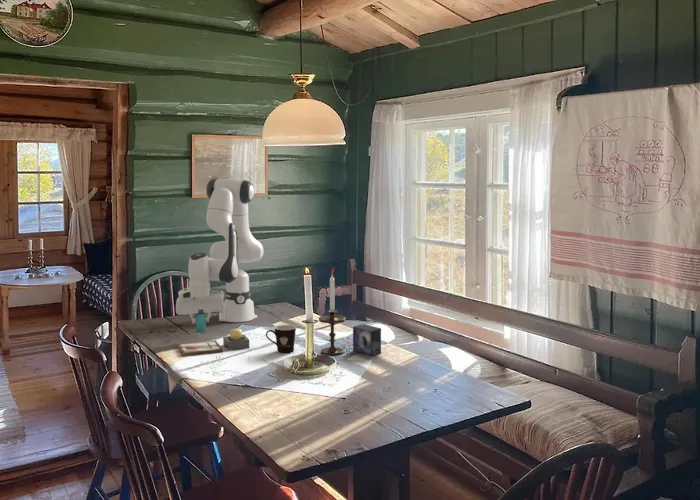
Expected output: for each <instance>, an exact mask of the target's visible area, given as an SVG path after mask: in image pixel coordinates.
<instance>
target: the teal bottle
mask: <svg viewBox="0 0 700 500" xmlns="http://www.w3.org/2000/svg"><path fill="white" fill-rule="evenodd" d="M205 318H206V313H204V311H203V309H202V310H198V313H197V314H195V319H196V324H195V332H196V333H206V331H207V330H206V329H207V327H206V323H205Z"/></svg>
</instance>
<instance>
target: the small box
mask: <svg viewBox="0 0 700 500" xmlns="http://www.w3.org/2000/svg"><path fill="white" fill-rule="evenodd" d="M352 351H353V352H356V353H359V354H363V355H366V356H368V357H372V356H376V355H380V354H382V328H380V327H377V326H374V325H373V326H372V325H368V324H366V323H362V324H357V325H354V326H352Z"/></svg>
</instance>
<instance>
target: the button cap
mask: <svg viewBox="0 0 700 500" xmlns="http://www.w3.org/2000/svg"><path fill="white" fill-rule="evenodd" d="M242 335H243V329H242V328H231V329H230V330H229V336H230V340H231V341H232V340H242Z"/></svg>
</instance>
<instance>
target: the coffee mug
mask: <svg viewBox="0 0 700 500" xmlns="http://www.w3.org/2000/svg"><path fill="white" fill-rule="evenodd" d="M296 329H297V327H296V326H295V325H292V324H282V325H276V326H274V330H272V329H269V330H267V331H266V333H265V336H266V339H267V340H268V341H270V342H271V343H273V344H274V345H275V346H276V348H277V352H278V354H282V353H283V355H286V354H292V353H294V351H295V349H294V348H295V340H296ZM270 332H272V333H273V334H274V335H275V340H272V339H271V338H270V337H269V336H268V333H270ZM275 341H276V342H275ZM291 352H292V353H291Z"/></svg>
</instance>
